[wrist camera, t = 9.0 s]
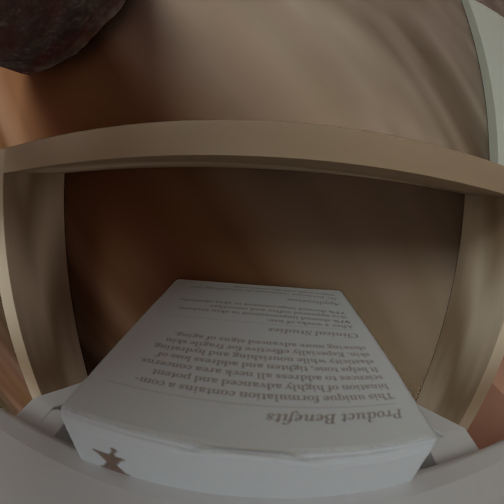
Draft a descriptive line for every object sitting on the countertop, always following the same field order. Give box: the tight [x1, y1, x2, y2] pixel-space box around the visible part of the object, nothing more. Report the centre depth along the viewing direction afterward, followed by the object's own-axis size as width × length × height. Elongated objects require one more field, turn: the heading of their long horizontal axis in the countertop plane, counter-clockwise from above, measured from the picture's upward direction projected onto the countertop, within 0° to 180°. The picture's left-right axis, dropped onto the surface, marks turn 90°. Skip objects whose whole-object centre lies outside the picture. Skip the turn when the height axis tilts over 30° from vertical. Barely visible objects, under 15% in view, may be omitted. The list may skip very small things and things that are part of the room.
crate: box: [0, 120, 504, 431], centre depth 9 cm, size 16×18×4 cm
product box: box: [61, 279, 437, 498], centre depth 7 cm, size 6×6×7 cm
